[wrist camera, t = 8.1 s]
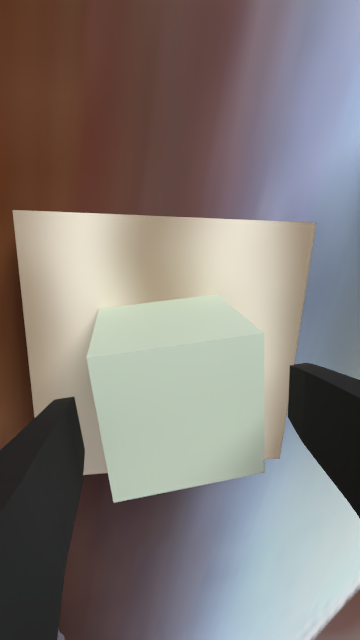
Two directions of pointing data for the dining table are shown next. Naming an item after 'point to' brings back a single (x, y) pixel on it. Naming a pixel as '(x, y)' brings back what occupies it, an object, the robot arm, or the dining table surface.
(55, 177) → the dining table surface
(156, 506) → the dining table surface
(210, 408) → the green block
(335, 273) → the dining table surface
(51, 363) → the beige panel
